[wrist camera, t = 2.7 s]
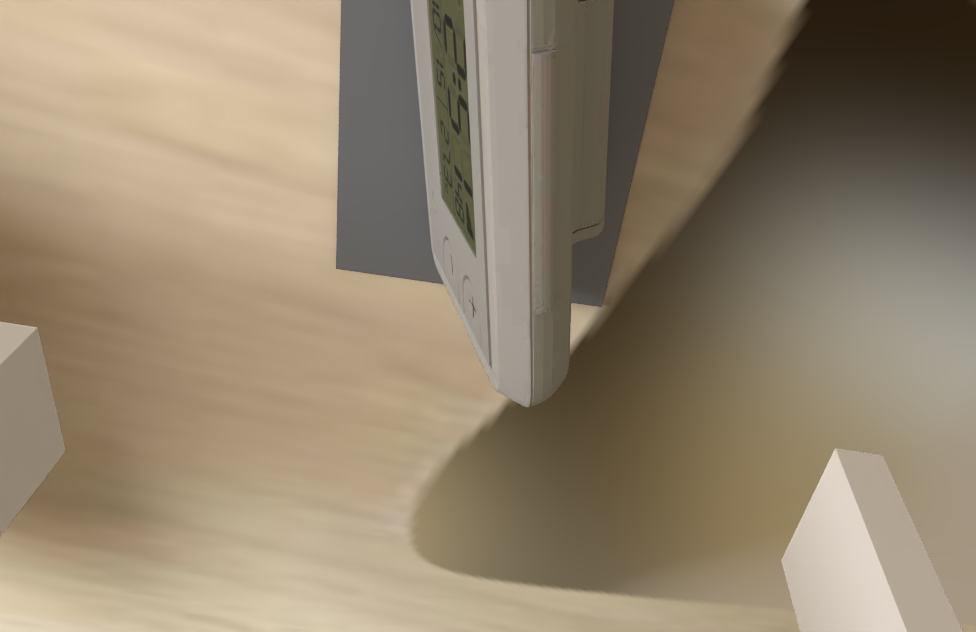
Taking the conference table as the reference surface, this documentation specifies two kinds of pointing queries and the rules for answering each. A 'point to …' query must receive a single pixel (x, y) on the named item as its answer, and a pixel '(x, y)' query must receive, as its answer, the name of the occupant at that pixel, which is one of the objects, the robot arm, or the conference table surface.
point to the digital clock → (514, 169)
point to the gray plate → (399, 150)
